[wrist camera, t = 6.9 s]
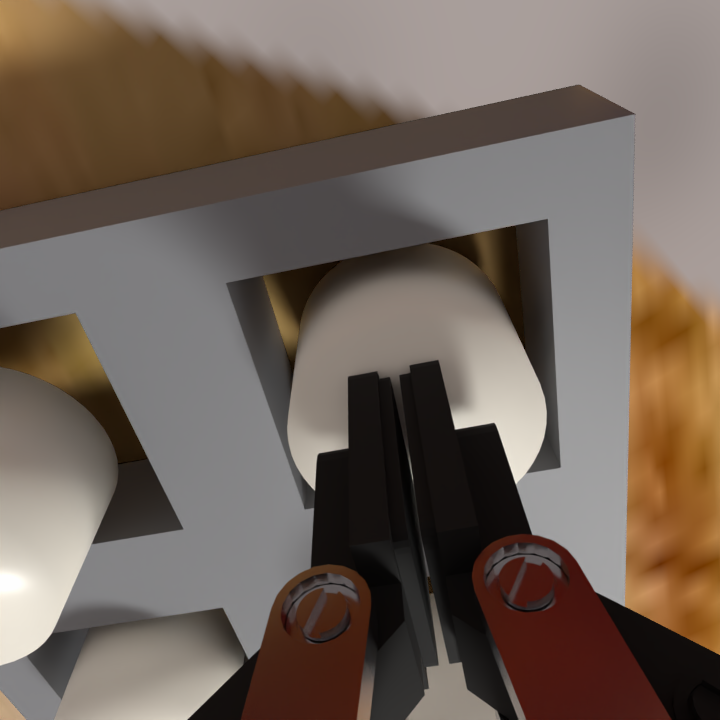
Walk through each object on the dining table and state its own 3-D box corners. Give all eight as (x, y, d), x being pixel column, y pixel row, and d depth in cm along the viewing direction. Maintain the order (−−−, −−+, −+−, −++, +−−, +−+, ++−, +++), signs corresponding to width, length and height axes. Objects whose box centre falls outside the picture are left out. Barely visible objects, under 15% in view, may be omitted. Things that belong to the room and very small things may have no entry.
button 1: (496, 221, 13) (539, 295, 10) (514, 403, 16) (552, 505, 13) (274, 265, 14) (255, 348, 11) (325, 435, 16) (321, 541, 13)
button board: (578, 84, 13) (635, 114, 10) (591, 625, 22) (622, 710, 20) (-212, 257, 15) (-328, 318, 12) (107, 693, 24) (79, 779, 22)
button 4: (220, 569, 19) (196, 682, 16) (265, 663, 21) (252, 776, 18) (68, 592, 19) (17, 707, 16) (130, 682, 22) (95, 796, 19)
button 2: (542, 575, 16) (585, 710, 13) (551, 681, 19) (589, 814, 16) (360, 601, 17) (363, 738, 14) (392, 702, 19) (400, 835, 16)
